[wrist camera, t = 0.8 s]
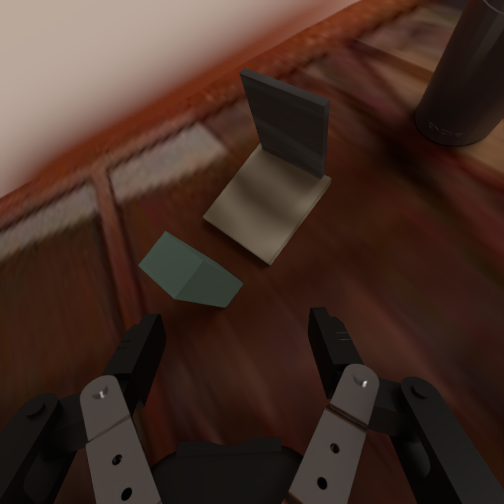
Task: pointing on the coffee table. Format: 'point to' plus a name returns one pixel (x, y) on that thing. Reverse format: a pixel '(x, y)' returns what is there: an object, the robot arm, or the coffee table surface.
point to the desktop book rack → (276, 168)
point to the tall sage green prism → (189, 273)
